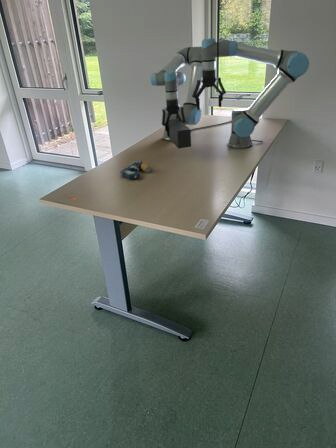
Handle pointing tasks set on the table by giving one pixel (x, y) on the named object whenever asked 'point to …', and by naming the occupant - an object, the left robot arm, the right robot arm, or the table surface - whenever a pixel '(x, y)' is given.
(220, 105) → the right robot arm
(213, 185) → the table surface
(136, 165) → the spray gun
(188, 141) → the box
